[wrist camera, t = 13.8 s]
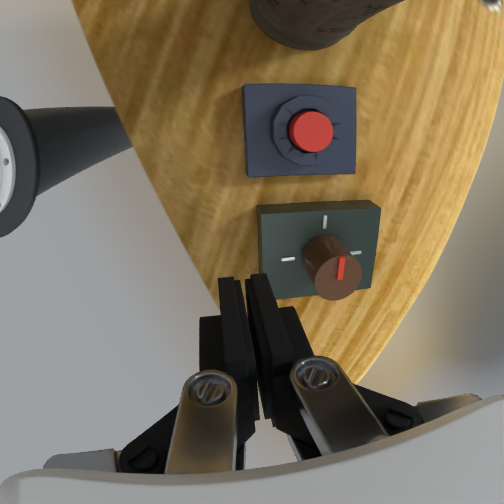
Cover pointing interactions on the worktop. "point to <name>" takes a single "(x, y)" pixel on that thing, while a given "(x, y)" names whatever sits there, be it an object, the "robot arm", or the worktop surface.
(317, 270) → the knob
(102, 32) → the worktop surface
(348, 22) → the beer stein
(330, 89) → the button box
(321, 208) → the panel
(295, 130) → the button
